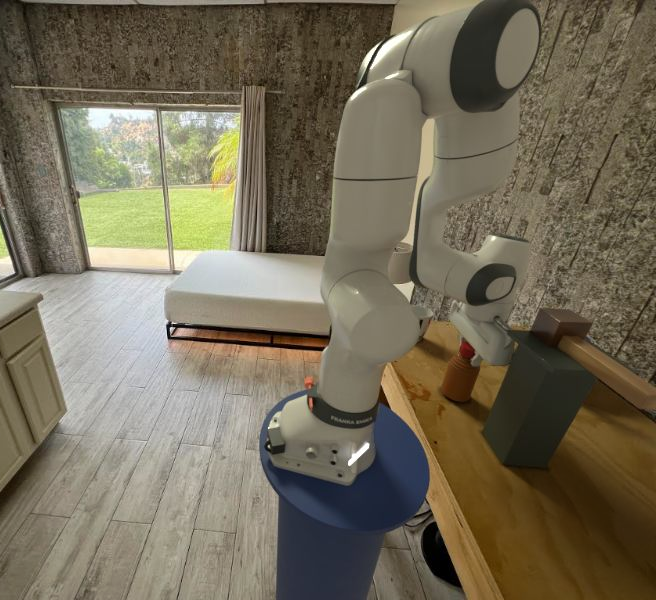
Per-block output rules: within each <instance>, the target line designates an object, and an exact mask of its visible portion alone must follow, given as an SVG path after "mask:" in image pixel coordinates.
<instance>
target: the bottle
mask: <svg viewBox="0 0 656 600" xmlns="http://www.w3.org/2000/svg"><path fill="white" fill-rule="evenodd" d="M469 360H470V358H467V357H465V356H463V355H461V354H460V353H459V352H458V353H456V354H455V355H453V356H452V357H451V358H450V359H449V362H448V365H447V368H446V371H445V374H444V376H443V381H442V384H441V387H440V391H441V393H442V394H443V395H444V396H445V397H446V398H448V399H450V400H452V401H455V402H460V403H465V402H468V401H469V400H470V399H471V397H472V393H473V391H474V388H475V385H476V382H477V379H478V378H479V374H480V372H481V365H480V366H472V365H471V363H470V362H469Z"/></svg>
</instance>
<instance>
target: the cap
mask: <svg viewBox="0 0 656 600" xmlns="http://www.w3.org/2000/svg"><path fill="white" fill-rule="evenodd" d="M459 347H460V349H459V348H458V354H459V353H460V354H461V355H463V356H465V357H467V358H470V357H474V356H475V355H476V354H475V349H474V348H473V347H472V346H471V345H470V344H469V343H468V342H462V343H461V345H460V344H459Z"/></svg>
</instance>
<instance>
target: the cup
mask: <svg viewBox="0 0 656 600" xmlns="http://www.w3.org/2000/svg"><path fill="white" fill-rule="evenodd" d="M411 306H412V308H413V310H414V312H415V314H416V316H417V319H418V321H419V324H420V335H419V338H418V341H417V343H418V342H420V341H422V340H423V338H424V336H425V335H426V333H427V331H428V329H429V327H430V324H431V321H432V318H433V315H434V312H433V311H432V310H431V309H429V308H427V307H425V306H422V305H411Z"/></svg>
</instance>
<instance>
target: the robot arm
mask: <svg viewBox="0 0 656 600" xmlns="http://www.w3.org/2000/svg"><path fill="white" fill-rule="evenodd" d="M541 41H542V19H541V15H540V13H539V11H538V9H537V7H536V6H535V5H534V4H533V2H532V1H531V0H481V1H479V3H477V4H475V5H470V6H467V7H463V8H459V9H455V10H452V11H449V12H446V13H444V14H441V15H435V16H434V15H433V16H430V17H428V18H426V19H424V20H422V21H419V22H417V23H415V24H413V25H412V26H410V27H408V28H405V29H403V30H402V31H400V32H398V33H396V34H392V35H391V34H390V35H389V36H387V37H386V38H383V39H382V40H381V41H379V42H378V43H377V44H376V45H374V46H373V47H372V48H371V49H370V50H369V51H368V52H367V54H366V55H365V57H364V58H363V60H362V62H361V64H360V67H359V69H358V73H357V76H356V80H355V81H356V82H355V91H354V92H353V93H352V94H351V95H350V97H348V99H347V101H346V103H345V106H344V109H343V112H342V117H341V121H340V125H339V130H338V135H337V140H336V147H335V154H334V163H333V174H332V176H333V177H332V190H331V191H332V192H331V207H330V208H331V210H330V225H329V236H328V241H327V245H326V250H325V255H324V260H323V265H322V269H321V271H320V275H319V293H320V297H321V299H322V301H323V303H324V305H325V308H326V310H327V312H328V315H329V319H330V325H331V334H330V340H329V342H328V345H326V347H325V348H324V349H323V350H322V352H321V354H320V365H319V376H318V381H317V382H316V383H315V379H314V378H313V377H312V376H306V377H305V378H304V388H305V390H307V389H308V391H307V395H304V396H302V397H299V398H297V399H294V400H291V401H289V402H287V403H286V404H285V406H284V407H283V409H282V411H280V412H277V413H276V414H275V415H274V416H273V418H272V419H271V421H270V424H269V428H268V429H267V442H266V443H265V445H264V448H265V450H266V451H268V455H269V458H270V460H271V462H272V464H273V465H274V466H275V467H278V468H282V469H285V470H289V471H293V472H296V473H300V474H304V475H308V476H311V477H315V478H319V479H323V480H326V481H330V482H334V483H338V484H341V485H345V486H349V485H351V484H352V483H353V482H354V480H355V479H356V477H357V475H358V474H359V473H361V472H363V471H364V470H366V469H367V468H368V467H370V466H371V464H372V463H373V461H374V459H375V455H376V449H375V444H374V422H375V421H376V418H377V415H378V411H379V402H380V401H381V400H380V399H381V398H380V396H379V395H380V391H381V385H382V381H383V376H384V372H385V370H386V367H387V366H388V364H389V363H394V362H396V361H398V360H401V359H402V358H404V357H405V356H407V355H408V354H409V353H410V352H412V350H414V348H415V346H416V345H417V344H418V342H419V341H418V338H419V335H420V324H419V321H418V319H417V316H416V314H415V312H414V310H413V308H412V306H413V305H412V304H411V302H410V300H409V299H408V297H407V295H405V294H404V293H403V292H402V291H401V290H400V289H399V288H398V287H397V286H396V285H395V284H394V283H392V282H391V280H390V278H389V265H390V261H391V259H392V257H393V254H394V253H395V249H396V247H397V245H398V244H400V243H401V242H402V241H403V240H404V239H405V238H406V237H407V235H408V233H409V231H410V227H411V219H412V214H413V207H414V201H415V196H416V189H417V183H418V176H419V170H420V164H421V154H422V153H421V152H422V142H423V141H422V139H423V128H424V126H425V125H426V122H427V121H428V120H433V119H434V124H433V135H432V138H433V140H432V141H433V142H432V147H433V148H432V149H433V150H432V151H433V159H432V160H433V161H432V168H431V172H430V174H429V175H428V176H427V177H426V178H424V180H423V182H422V183H421V186H420V188H419V190H418V191H419V192H418V196H417V201H416V209H415V219H414V228H413V229H414V230H413V242H412V249H411V253H410V258H409V260H408V266H407V272H408V276H409V279H410V281H411V283H412V284H414V285H415V286H417V287H420V288H423V289H427V290H430V291H433V292H435V293H438V294H440V295H442V296H445V297H447V298H450V299H452V302H451V306H450V309H449V313H448V319H449V323H450V324H451V325H452V326H453V327H454V328H455V329H456V330H457V332H458V333H459V347H458V350H459V349H460V345H461V343H462V342H468V343H469V344H470V345H471V346H472V347H473V348H474V349H475V354H476V355H475V356H474V357H470V360H469V362H470V363H471V365H472V366H480V367H481V365H482V362H483V361H484V362H485V363H486V364H487V365H488V366H490V367H506V366H509V365H510V363H511V360H512V358H513V355H514V349H515V346H516V345H515V344H516V342H515V341H514V340H513V339H512V338H510V337H509V336H508V335H507V331H508V330H513V328H512V326H511V325H510V324H508V323H507V324H506V323H505V321H507V320H508V321H509V319H510V317H511V314H512V312H511V310H512V311H513V309H514V306H515V302H516V300H517V298H516V295H517V290H518V289H519V287H520V286H521V284H522V283H523V282H524V279H525V276H526V273H527V271H528V267H529V264H530V260H531V255H532V248H533V246H532V243H531V241H529V239H526V238H524V237H519V236H514V235H509V234H504V233H497V232H495V233H490V234H487V236H486V237H485V239H484V240H483V243H482V244H481V247H480V249H479V250H477V251H475V252H472V253H470V252H465V251H462V250H460V249H455V248H453V247H450V246H449V245H448V244H447V243H445V241H444V236H445V235H444V234H445V229H446V222H447V217H448V212H449V209H450V208H451V207H456V206H460V205H463V204H467V203H471V202H475V201H476V200H479V199H481V198H484V197H485V196H487V195H489V194H491V193H492V192H494V191H495V190H497V189H498V188H499V187H501V185H503V184H504V183H505V182H506V180H507V179H508V178H509V177H510V176H511V174H512V172H513V169H514V168H515V167H514V166H515V164H516V161H517V160H516V159H517V154H518V146H519V135H520V122H521V121H520V120H521V117H520V116H521V108H520V107H521V106H520V88H521V87H522V86H523V85H524V83H525V82H526V80H527V79H528V77H529V75H530V74H531V72H532V70H533V68H534V66H535V63H536V61H537V58H538V55H539V51H540V47H541ZM513 305H514V306H513ZM512 308H513V309H512ZM510 313H511V314H510ZM509 316H510V317H509ZM508 318H509V319H508ZM417 341H418V342H417ZM380 403H381V402H380ZM338 476H341V477H338Z"/></svg>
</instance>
